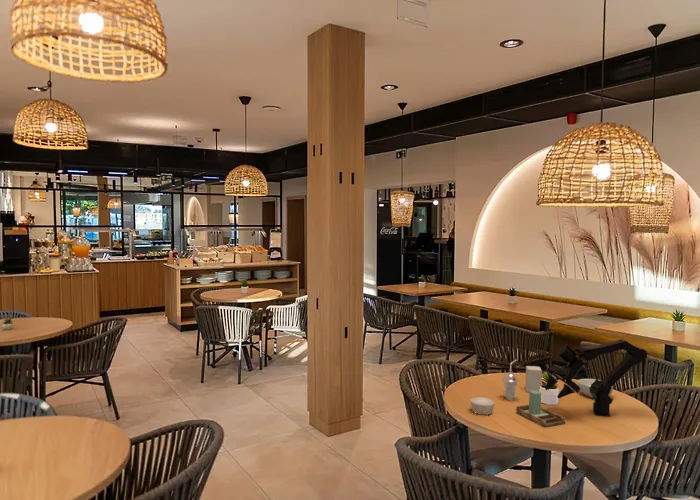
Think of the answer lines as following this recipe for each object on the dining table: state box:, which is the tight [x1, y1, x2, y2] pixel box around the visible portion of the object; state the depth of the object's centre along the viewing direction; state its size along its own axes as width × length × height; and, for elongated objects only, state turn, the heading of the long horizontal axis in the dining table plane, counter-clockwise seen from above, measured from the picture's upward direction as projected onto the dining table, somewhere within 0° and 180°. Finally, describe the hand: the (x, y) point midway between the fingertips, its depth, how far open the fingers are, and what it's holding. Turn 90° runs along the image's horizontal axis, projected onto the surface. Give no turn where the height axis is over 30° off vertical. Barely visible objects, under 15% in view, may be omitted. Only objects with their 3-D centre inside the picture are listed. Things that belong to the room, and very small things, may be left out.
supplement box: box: [524, 365, 543, 393], centre depth 282 cm, size 7×7×13 cm
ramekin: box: [470, 397, 495, 415], centre depth 250 cm, size 11×11×5 cm
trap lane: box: [515, 404, 566, 428], centre depth 242 cm, size 18×12×3 cm, turn 23°
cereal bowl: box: [577, 378, 614, 399], centre depth 275 cm, size 17×17×7 cm
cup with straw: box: [501, 359, 520, 401], centre depth 268 cm, size 8×9×20 cm
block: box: [528, 390, 542, 415], centre depth 245 cm, size 4×4×10 cm
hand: (551, 393), depth 247 cm, fingers open, 9 cm apart
